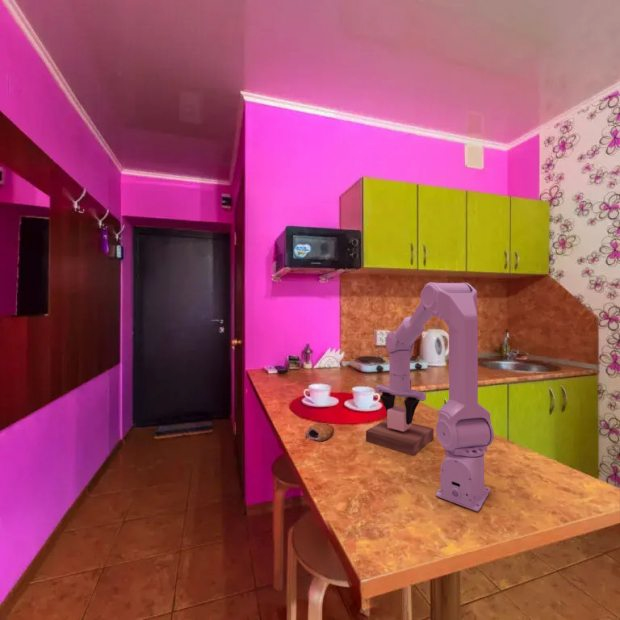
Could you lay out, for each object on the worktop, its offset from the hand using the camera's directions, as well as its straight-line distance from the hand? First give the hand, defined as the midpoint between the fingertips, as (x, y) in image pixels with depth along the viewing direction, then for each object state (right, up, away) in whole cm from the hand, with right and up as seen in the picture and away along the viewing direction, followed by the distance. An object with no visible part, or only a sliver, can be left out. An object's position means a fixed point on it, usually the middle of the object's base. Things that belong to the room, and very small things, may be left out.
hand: (399, 421), depth 93 cm
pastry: (-23, -6, +3) cm, 24 cm away
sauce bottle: (+6, -5, +19) cm, 20 cm away
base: (0, -5, 0) cm, 5 cm away
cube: (0, -2, 0) cm, 2 cm away
